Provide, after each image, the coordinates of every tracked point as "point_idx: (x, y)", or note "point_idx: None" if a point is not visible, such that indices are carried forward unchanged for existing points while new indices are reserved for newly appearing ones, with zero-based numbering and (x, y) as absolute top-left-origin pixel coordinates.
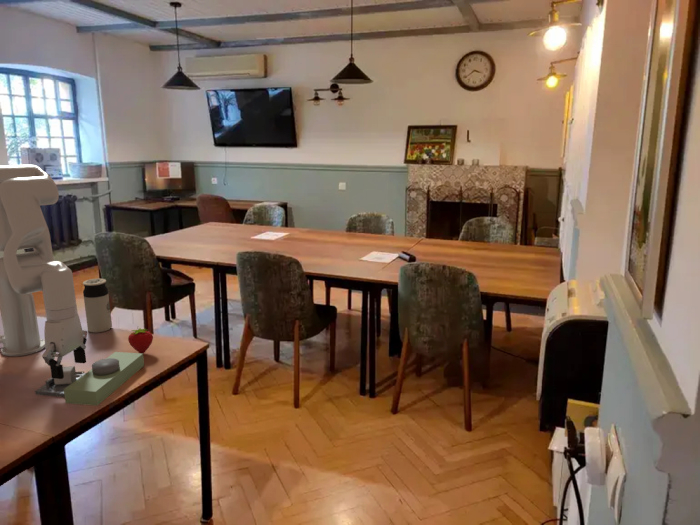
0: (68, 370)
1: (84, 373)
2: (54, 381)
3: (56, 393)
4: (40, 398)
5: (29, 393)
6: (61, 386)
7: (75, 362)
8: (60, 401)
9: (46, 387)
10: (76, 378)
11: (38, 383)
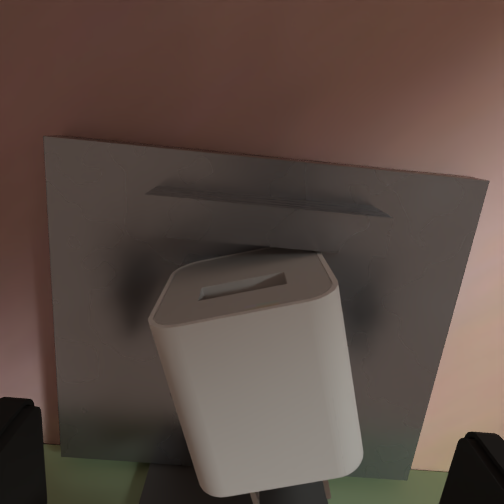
0: (220, 476)
1: (424, 385)
2: (168, 282)
3: (57, 344)
4: (10, 222)
5: (72, 55)
6: None
7: (459, 442)
8: (4, 395)
9: (133, 205)
10: None
11: (285, 10)
